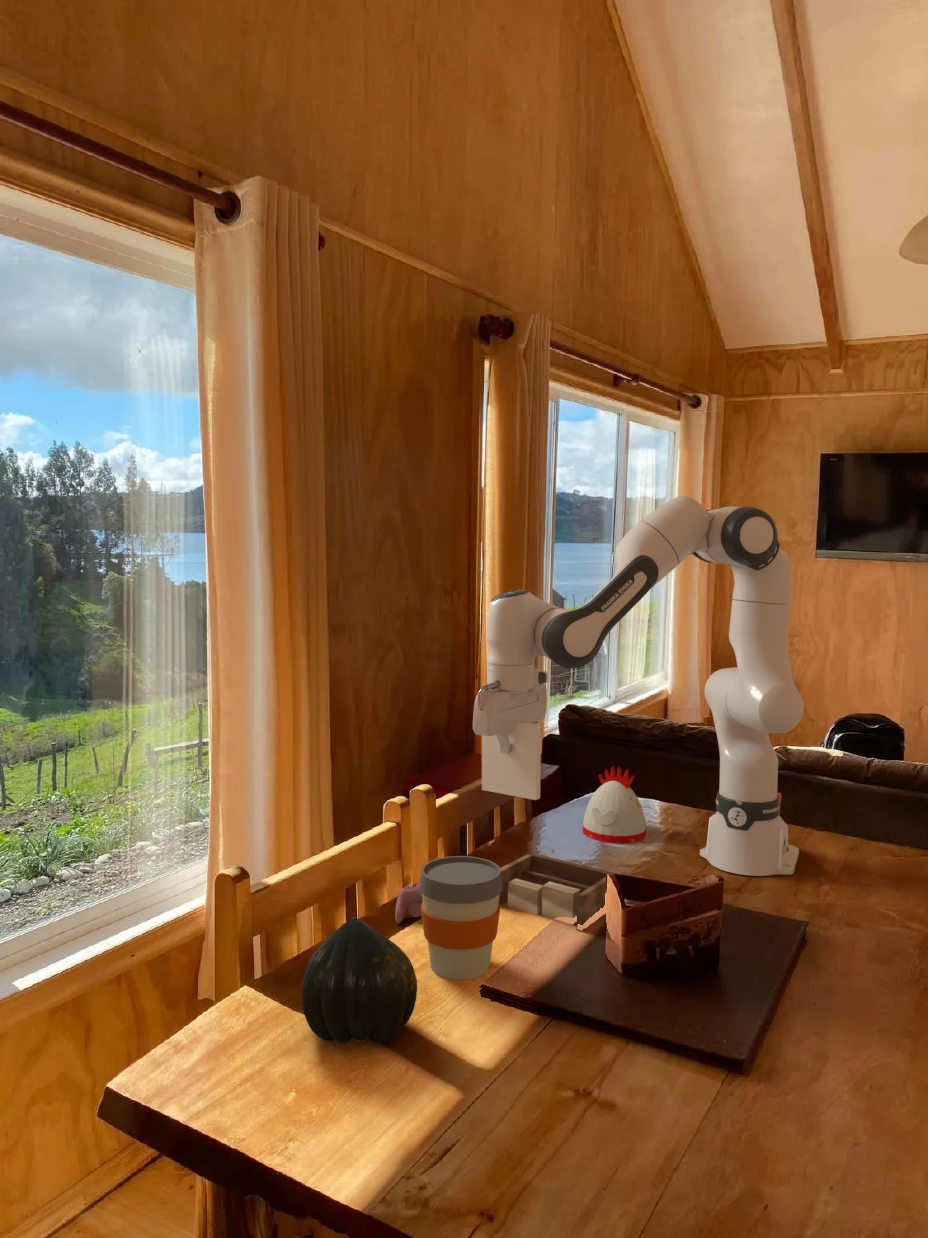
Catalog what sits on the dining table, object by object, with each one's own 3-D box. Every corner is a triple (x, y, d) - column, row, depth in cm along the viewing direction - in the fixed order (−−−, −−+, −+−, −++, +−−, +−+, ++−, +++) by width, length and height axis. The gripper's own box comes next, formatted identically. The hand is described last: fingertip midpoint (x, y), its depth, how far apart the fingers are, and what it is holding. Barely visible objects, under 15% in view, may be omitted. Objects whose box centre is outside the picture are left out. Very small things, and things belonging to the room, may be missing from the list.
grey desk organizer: (530, 883, 173) (530, 852, 172) (617, 906, 162) (618, 873, 162) (491, 905, 162) (492, 872, 162) (582, 931, 152) (582, 896, 151)
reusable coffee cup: (513, 957, 142) (515, 863, 141) (481, 993, 131) (482, 891, 130) (441, 941, 148) (441, 850, 146) (403, 974, 136) (404, 876, 135)
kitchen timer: (630, 847, 194) (632, 778, 193) (572, 835, 201) (573, 768, 200) (655, 830, 206) (657, 764, 204) (598, 819, 213) (600, 756, 212)
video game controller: (453, 927, 157) (456, 885, 159) (451, 926, 152) (453, 882, 155) (396, 925, 158) (399, 882, 160) (392, 923, 153) (395, 880, 156)
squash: (376, 1040, 108) (407, 916, 117) (266, 1021, 114) (304, 903, 122) (414, 1069, 119) (440, 953, 128) (312, 1050, 124) (344, 940, 133)
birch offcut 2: (548, 912, 160) (549, 881, 159) (579, 921, 156) (580, 889, 156) (541, 916, 158) (542, 885, 157) (572, 925, 154) (573, 894, 154)
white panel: (486, 788, 176) (486, 716, 175) (540, 798, 169) (540, 723, 168) (481, 789, 175) (481, 717, 174) (535, 800, 168) (535, 724, 167)
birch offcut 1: (514, 902, 164) (515, 878, 164) (544, 911, 160) (544, 886, 160) (507, 907, 162) (508, 882, 162) (536, 915, 158) (537, 890, 158)
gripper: (493, 687, 160) (493, 765, 161) (552, 672, 177) (552, 743, 178) (464, 683, 164) (464, 760, 165) (525, 670, 180) (524, 739, 181)
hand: (510, 751), depth 171 cm, fingers closed on white panel, 2 cm apart
